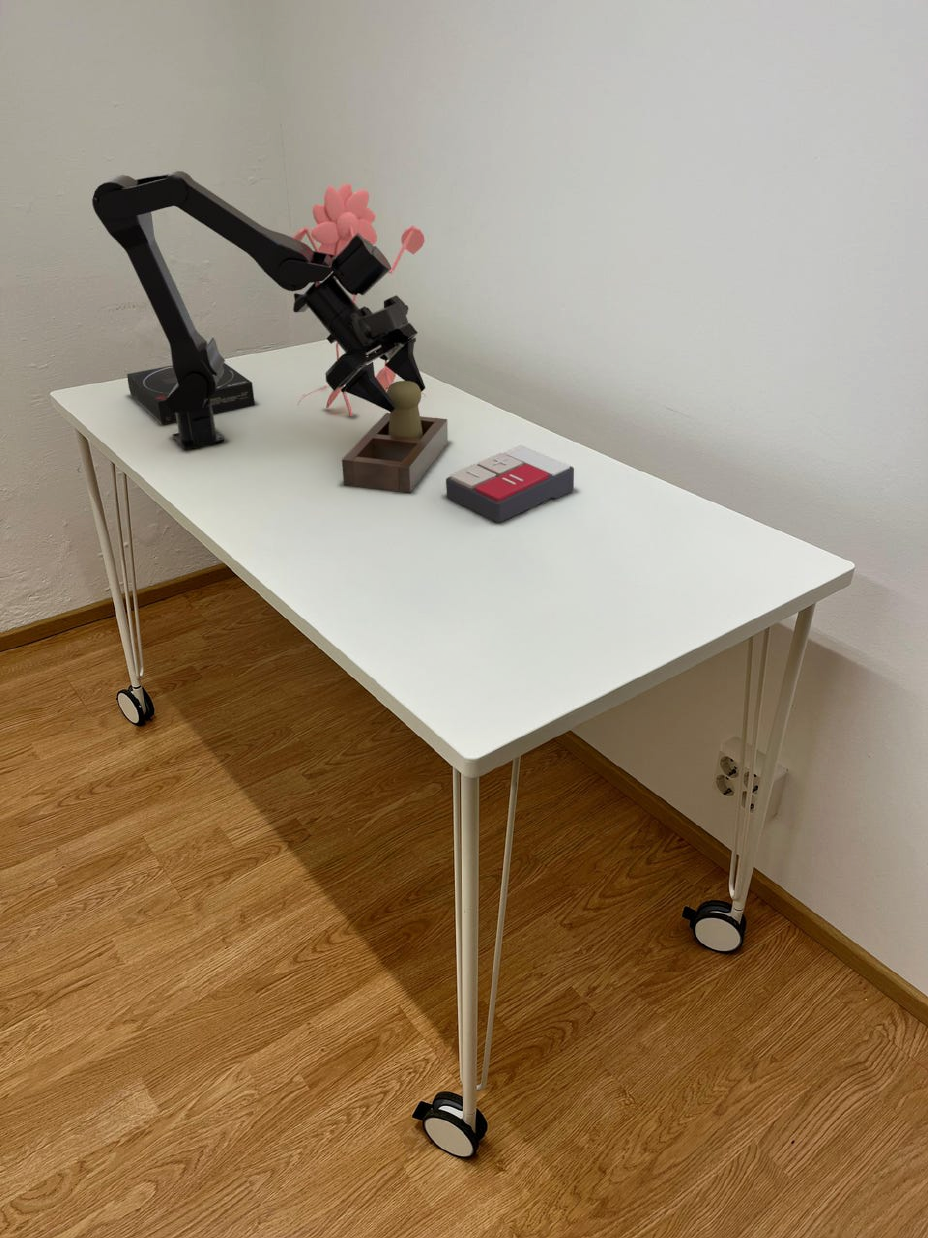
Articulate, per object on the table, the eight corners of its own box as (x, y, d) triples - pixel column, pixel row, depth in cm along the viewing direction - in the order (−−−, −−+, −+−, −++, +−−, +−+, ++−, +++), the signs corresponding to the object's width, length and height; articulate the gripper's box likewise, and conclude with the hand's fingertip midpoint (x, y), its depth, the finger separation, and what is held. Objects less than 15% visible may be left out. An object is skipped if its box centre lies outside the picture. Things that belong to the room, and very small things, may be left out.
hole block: (343, 485, 143) (341, 459, 140) (387, 436, 158) (386, 412, 155) (410, 493, 140) (409, 467, 138) (447, 442, 155) (447, 418, 153)
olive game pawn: (386, 445, 155) (383, 377, 149) (424, 443, 155) (422, 375, 149) (387, 460, 150) (383, 391, 144) (426, 459, 150) (424, 389, 144)
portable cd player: (218, 377, 181) (215, 355, 179) (255, 404, 169) (252, 382, 167) (130, 394, 174) (125, 372, 172) (162, 425, 162) (157, 401, 160)
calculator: (444, 473, 137) (521, 439, 145) (445, 500, 139) (521, 466, 147) (497, 499, 130) (575, 462, 138) (498, 527, 132) (575, 490, 140)
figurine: (438, 394, 173) (434, 180, 154) (312, 430, 160) (290, 200, 141) (388, 371, 183) (378, 168, 164) (266, 403, 170) (240, 186, 151)
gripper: (337, 297, 133) (411, 388, 135) (404, 267, 147) (470, 350, 149) (294, 347, 140) (365, 432, 142) (362, 313, 154) (425, 391, 156)
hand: (408, 399), depth 147 cm, fingers open, 9 cm apart
